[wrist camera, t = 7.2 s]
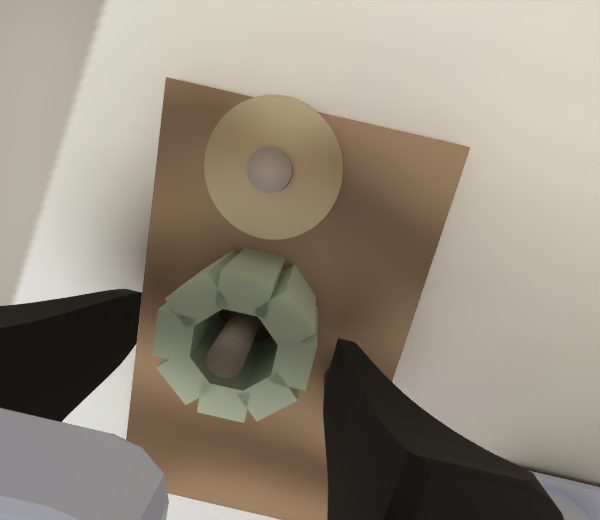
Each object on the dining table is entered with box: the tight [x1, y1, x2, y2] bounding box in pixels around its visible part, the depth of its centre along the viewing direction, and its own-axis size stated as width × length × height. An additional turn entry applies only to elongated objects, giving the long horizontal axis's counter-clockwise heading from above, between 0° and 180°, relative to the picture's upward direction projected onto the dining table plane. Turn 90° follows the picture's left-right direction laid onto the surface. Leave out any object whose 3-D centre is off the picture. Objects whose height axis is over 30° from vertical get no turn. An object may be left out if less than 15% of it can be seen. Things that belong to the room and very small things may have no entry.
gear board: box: [126, 77, 470, 520], centre depth 13 cm, size 20×12×5 cm, turn 167°
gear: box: [152, 248, 318, 423], centre depth 13 cm, size 6×6×4 cm
